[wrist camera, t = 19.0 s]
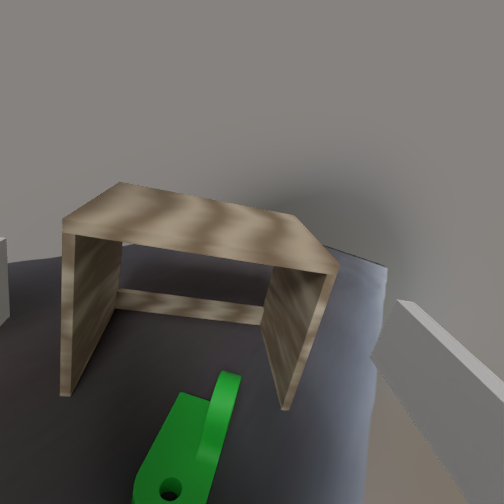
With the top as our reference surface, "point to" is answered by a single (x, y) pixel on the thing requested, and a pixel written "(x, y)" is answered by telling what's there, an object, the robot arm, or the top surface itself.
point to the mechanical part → (188, 447)
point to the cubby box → (200, 242)
